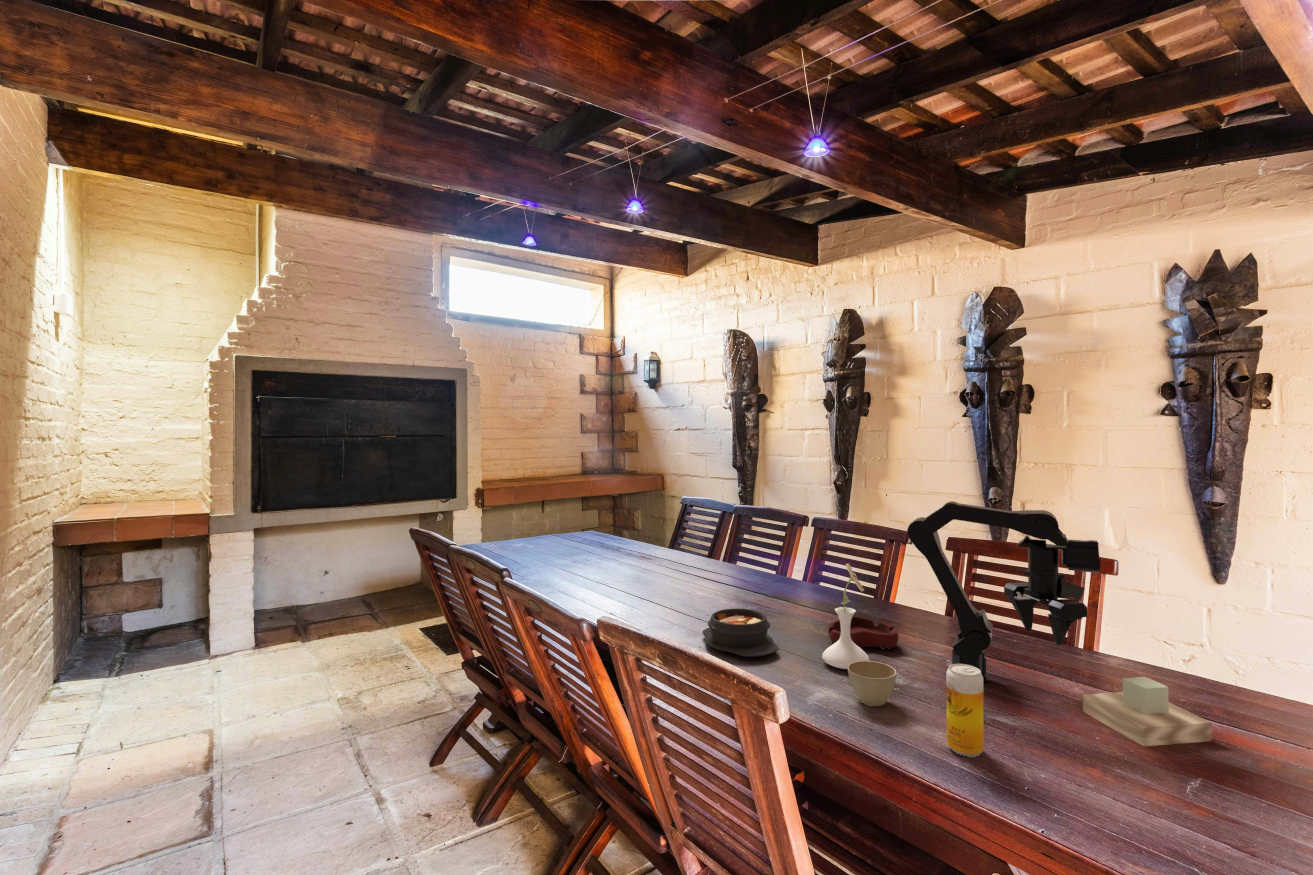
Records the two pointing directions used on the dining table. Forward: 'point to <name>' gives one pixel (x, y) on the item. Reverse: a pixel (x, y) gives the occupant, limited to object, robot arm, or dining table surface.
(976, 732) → the beer can
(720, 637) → the casserole
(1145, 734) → the birch base
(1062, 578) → the robot arm
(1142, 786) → the dining table surface
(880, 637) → the ashtray
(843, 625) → the flower in vase
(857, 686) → the flower pot
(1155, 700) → the sage block
